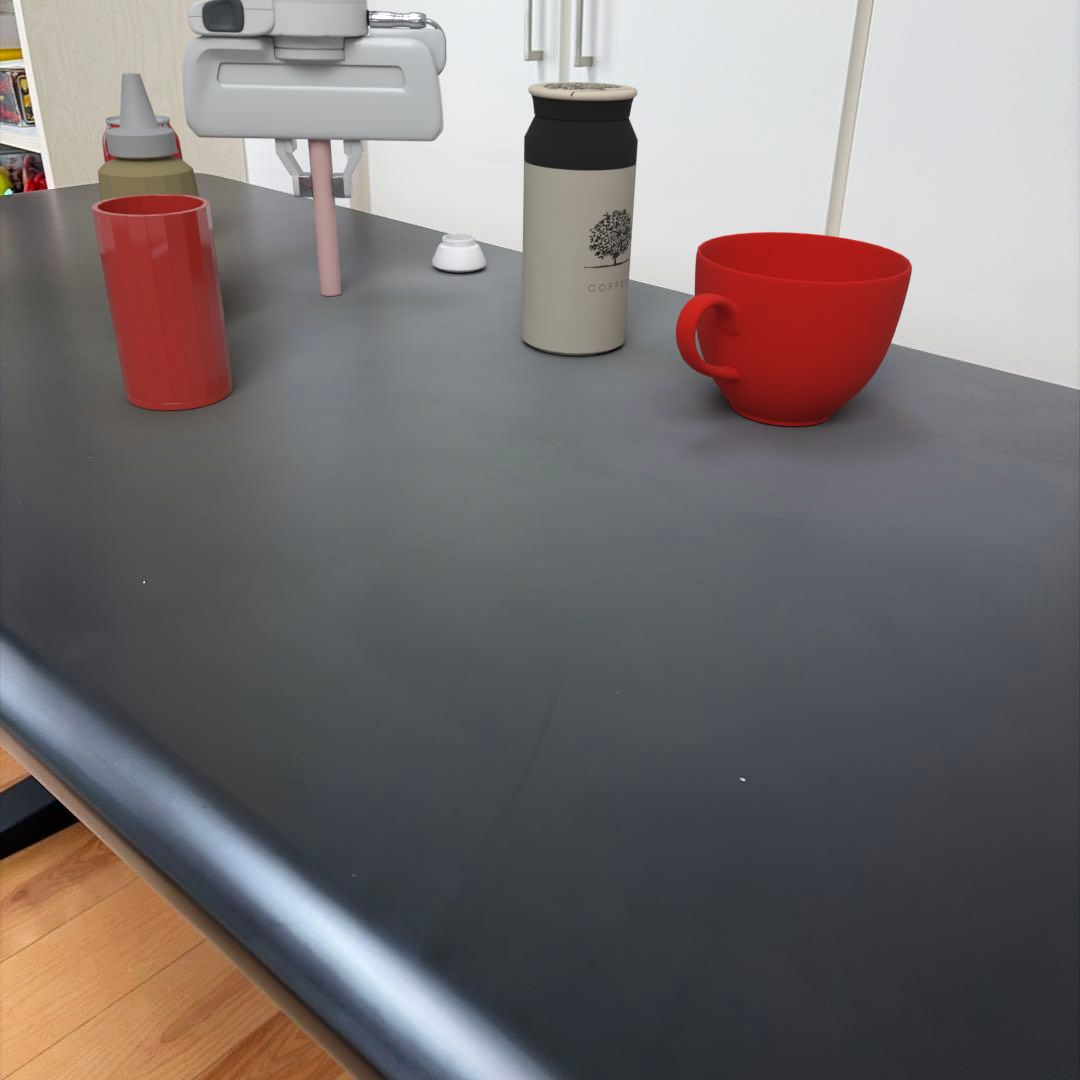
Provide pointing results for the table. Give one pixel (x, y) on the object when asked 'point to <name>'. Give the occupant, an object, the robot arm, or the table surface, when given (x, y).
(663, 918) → the table surface
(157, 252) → the red tumbler
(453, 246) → the lidless jar
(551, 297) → the travel mug
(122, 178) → the squeeze bottle
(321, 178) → the straw
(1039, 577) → the table surface
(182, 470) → the table surface
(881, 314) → the ceramic cup
